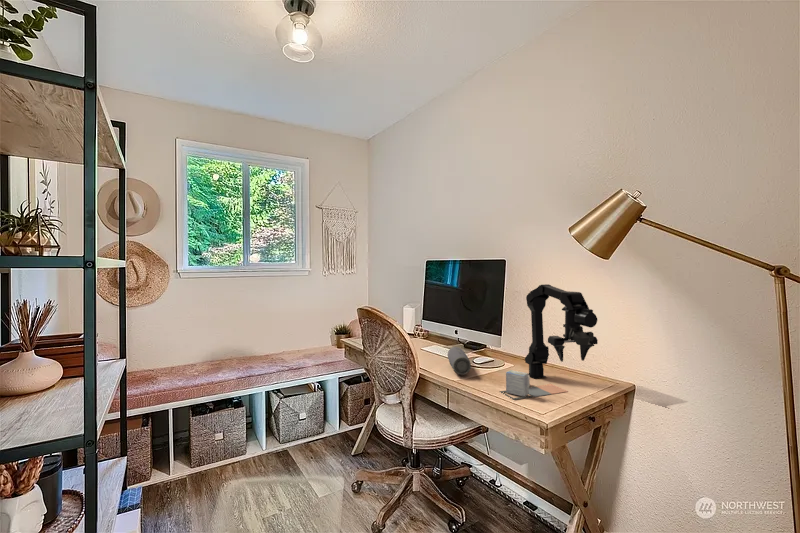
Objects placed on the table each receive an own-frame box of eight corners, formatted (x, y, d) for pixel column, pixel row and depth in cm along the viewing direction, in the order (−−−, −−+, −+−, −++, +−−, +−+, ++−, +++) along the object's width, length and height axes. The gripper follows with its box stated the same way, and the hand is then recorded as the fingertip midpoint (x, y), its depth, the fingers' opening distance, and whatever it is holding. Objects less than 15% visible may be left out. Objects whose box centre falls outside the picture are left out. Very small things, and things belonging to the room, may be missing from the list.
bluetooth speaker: (472, 377, 179) (472, 356, 179) (452, 377, 179) (452, 356, 179) (464, 364, 202) (464, 345, 202) (446, 364, 202) (446, 345, 202)
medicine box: (528, 394, 155) (528, 373, 155) (524, 397, 151) (524, 375, 151) (510, 390, 160) (510, 369, 160) (505, 392, 157) (505, 371, 157)
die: (512, 384, 168) (512, 373, 168) (522, 383, 170) (522, 372, 170) (520, 388, 163) (520, 376, 163) (529, 387, 165) (529, 375, 165)
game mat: (499, 392, 159) (499, 391, 159) (550, 384, 168) (550, 383, 168) (514, 400, 149) (514, 399, 149) (567, 391, 158) (567, 391, 158)
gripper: (562, 327, 146) (562, 367, 146) (607, 326, 148) (606, 365, 149) (547, 322, 157) (546, 359, 157) (589, 321, 159) (588, 358, 160)
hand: (572, 361), depth 156 cm, fingers open, 9 cm apart
